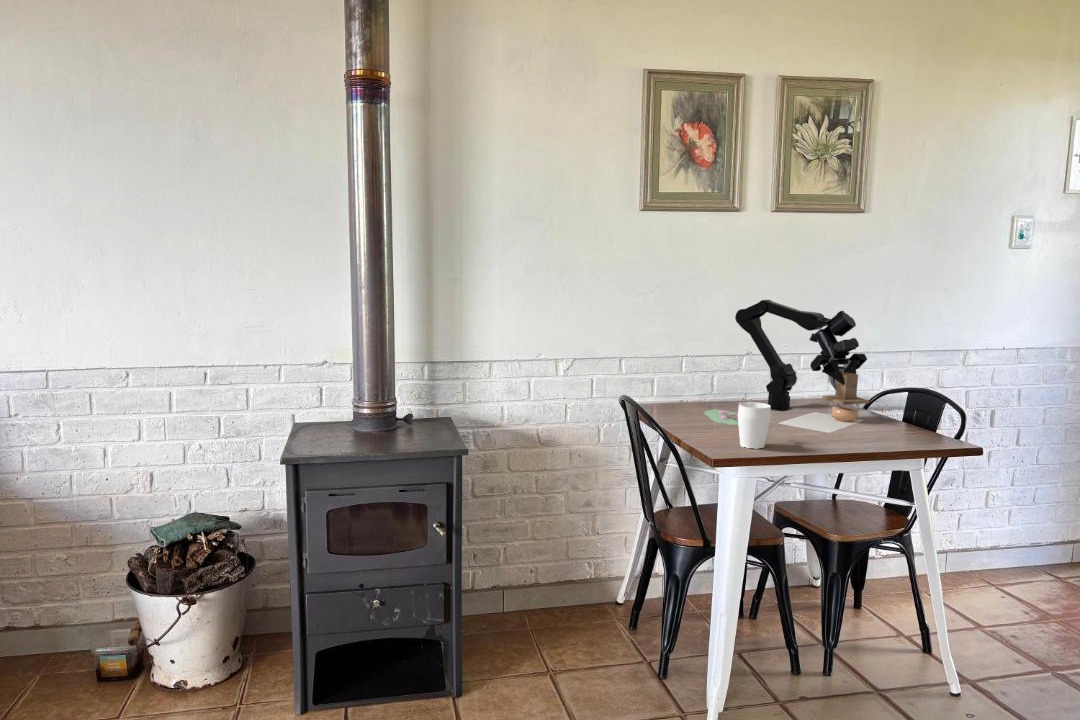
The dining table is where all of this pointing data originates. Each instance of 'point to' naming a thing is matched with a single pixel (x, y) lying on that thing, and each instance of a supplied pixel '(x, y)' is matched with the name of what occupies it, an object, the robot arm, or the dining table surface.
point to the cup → (753, 424)
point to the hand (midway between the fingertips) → (849, 383)
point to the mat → (818, 422)
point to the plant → (723, 415)
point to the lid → (846, 391)
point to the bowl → (844, 413)
